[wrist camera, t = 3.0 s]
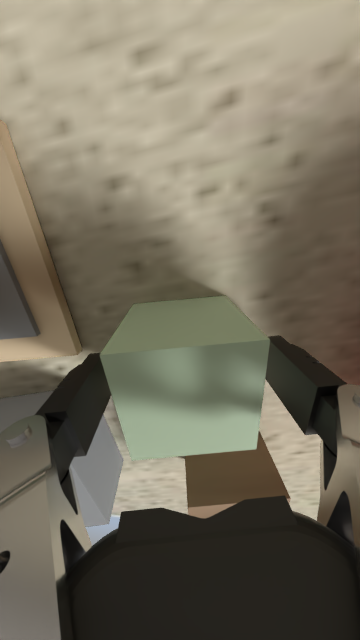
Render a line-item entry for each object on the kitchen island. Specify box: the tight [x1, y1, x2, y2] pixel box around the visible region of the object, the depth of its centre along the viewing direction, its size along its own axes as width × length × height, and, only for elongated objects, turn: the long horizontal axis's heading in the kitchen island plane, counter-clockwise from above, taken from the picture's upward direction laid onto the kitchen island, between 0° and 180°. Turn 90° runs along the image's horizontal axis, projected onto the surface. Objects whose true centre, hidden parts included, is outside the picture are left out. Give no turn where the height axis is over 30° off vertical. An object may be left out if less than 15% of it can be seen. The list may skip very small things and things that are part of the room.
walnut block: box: [185, 431, 291, 518], centre depth 12 cm, size 5×5×5 cm
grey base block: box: [0, 391, 123, 527], centre depth 12 cm, size 8×8×4 cm
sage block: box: [100, 296, 270, 461], centre depth 9 cm, size 5×5×5 cm
